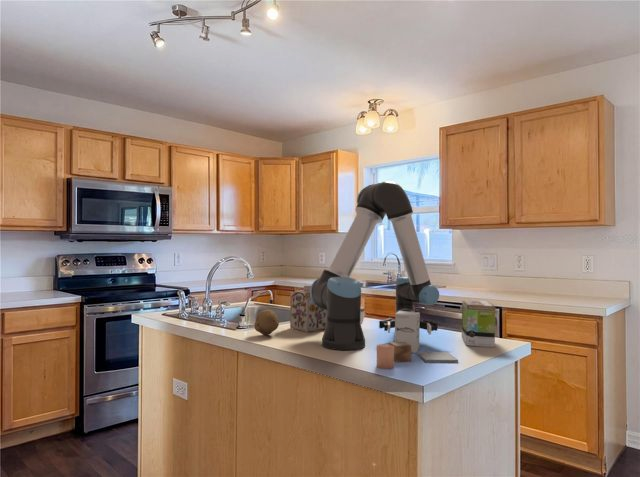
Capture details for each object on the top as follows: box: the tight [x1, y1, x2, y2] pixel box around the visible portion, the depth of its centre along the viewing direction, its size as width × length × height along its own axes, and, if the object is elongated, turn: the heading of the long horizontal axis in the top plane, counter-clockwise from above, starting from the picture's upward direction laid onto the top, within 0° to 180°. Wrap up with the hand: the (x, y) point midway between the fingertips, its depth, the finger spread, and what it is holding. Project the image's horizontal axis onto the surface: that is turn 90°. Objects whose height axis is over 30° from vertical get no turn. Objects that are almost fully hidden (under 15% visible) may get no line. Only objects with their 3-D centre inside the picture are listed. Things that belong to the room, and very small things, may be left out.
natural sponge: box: [254, 309, 280, 336], centre depth 171 cm, size 9×9×10 cm
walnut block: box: [389, 341, 412, 363], centre depth 137 cm, size 5×5×5 cm
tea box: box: [461, 299, 496, 348], centre depth 164 cm, size 15×10×15 cm, turn 168°
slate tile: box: [416, 351, 459, 364], centre depth 139 cm, size 10×10×1 cm
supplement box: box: [394, 311, 421, 354], centre depth 150 cm, size 7×7×13 cm
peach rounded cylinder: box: [376, 343, 395, 370], centre depth 129 cm, size 5×5×6 cm
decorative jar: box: [289, 285, 327, 333], centre depth 187 cm, size 12×12×18 cm
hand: (409, 329), depth 150 cm, fingers open, 13 cm apart
